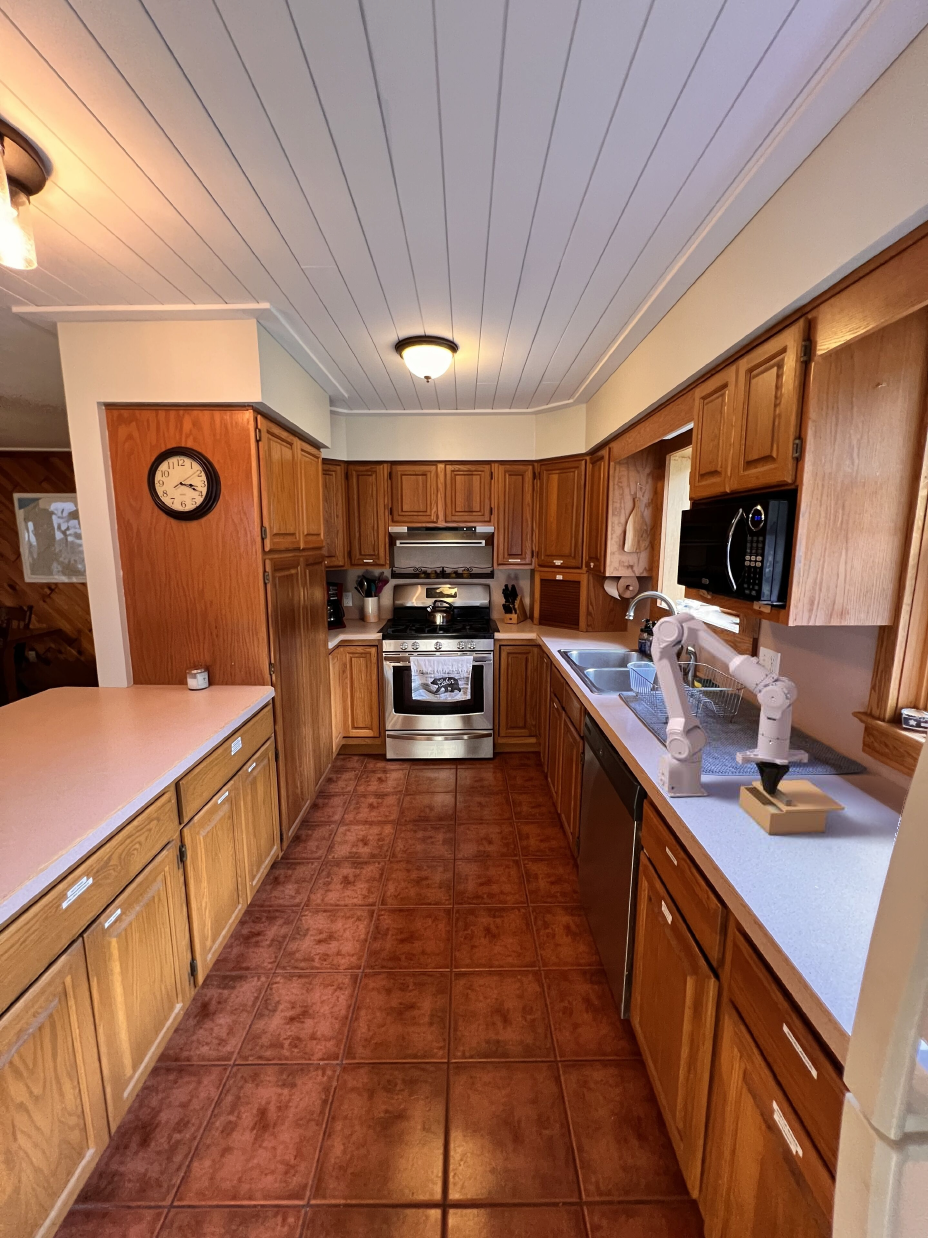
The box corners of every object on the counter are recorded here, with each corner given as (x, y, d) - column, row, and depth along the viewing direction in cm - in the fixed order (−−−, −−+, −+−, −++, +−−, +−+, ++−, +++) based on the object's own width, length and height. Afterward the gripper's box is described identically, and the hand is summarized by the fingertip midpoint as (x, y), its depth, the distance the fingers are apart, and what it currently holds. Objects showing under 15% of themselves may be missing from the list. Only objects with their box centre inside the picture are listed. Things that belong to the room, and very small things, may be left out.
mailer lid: (785, 812, 104) (786, 803, 103) (752, 784, 115) (753, 775, 115) (844, 810, 104) (845, 801, 103) (805, 782, 115) (806, 774, 115)
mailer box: (768, 835, 105) (770, 813, 104) (739, 806, 116) (740, 786, 115) (824, 832, 105) (826, 811, 104) (789, 804, 116) (791, 784, 115)
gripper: (751, 743, 102) (746, 803, 105) (820, 741, 103) (814, 800, 105) (732, 729, 109) (728, 786, 112) (797, 727, 110) (791, 783, 112)
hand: (768, 792), depth 109 cm, fingers closed
